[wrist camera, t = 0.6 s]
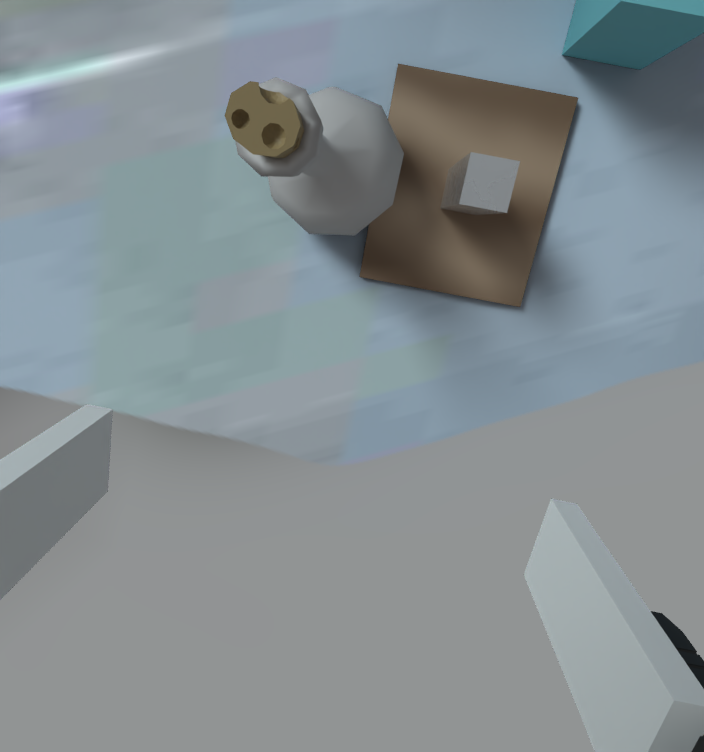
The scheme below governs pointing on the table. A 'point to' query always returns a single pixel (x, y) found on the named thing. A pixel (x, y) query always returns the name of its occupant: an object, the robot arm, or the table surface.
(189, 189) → the table surface
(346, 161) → the potion bottle
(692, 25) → the teal boxy block
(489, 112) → the board
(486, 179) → the post
